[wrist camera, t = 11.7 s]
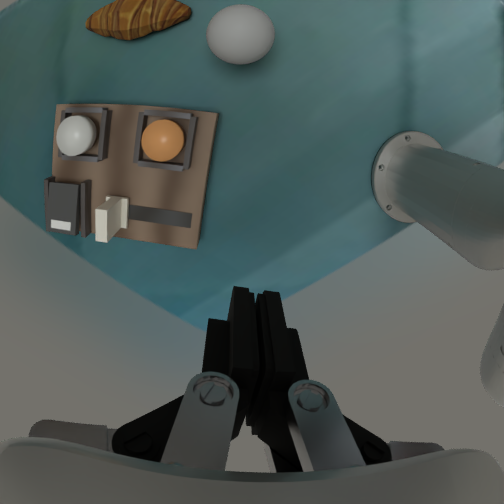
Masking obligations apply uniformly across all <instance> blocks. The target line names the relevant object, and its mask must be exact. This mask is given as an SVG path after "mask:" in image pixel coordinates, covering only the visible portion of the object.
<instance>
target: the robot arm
mask: <svg viewBox="0 0 504 504" xmlns="http://www.w3.org/2000/svg"><path fill="white" fill-rule="evenodd" d="M405 137H406V139H405ZM379 165H380V168H378V167H379ZM371 177H372V188H373V193H374V196H375V198H376V201H377V203H378V204H379V206H380V207H381V209H382V210H383V211H384V212H385V213H386V214H388V215H389V216H390V217H392V218H393V219H395V220H397V221H400V222H404V223H414V222H418V223H420V224H421V225H423V226H424V227H425V228H426V229H428V230H429V231H430V232H432V233H433V234H434V235H436V236H437V237H438V238H440V239H441V240H442V241H443V242H445V243H446V244H447V245H448V246H450V247H451V248H452V249H453V250H455V251H456V252H457V253H459V254H460V255H461V256H462V257H463V258H465V259H466V260H467V261H468V262H470V263H471V264H473V265H474V266H476V267H478V268H480V269H484V270H500V269H504V170H503V169H500V168H498V167H494V166H491V165H488V164H486V163H483V162H480V161H477V160H474V159H471V158H468V157H464V156H461V155H458V154H455V153H451V152H448V151H444V150H443V148H442V147H441V146H440V144H439V143H438V142H437V141H436V140H435V139H434V138H432V137H431V136H429V135H427V134H425V133H421V132H416V131H405V132H401V133H398V134H396V135H395V136H393V137H391V138H390V139H389V140H388V141H386V142H385V143H384V145H383V146H382V147H381V149H380V150H379V152H378V154H377V156H376V158H375V161H374V164H373V168H372V176H371ZM387 205H388V206H387ZM386 206H387V207H386ZM480 375H481V381H482V384H483V386H484V388H485V390H486V392H487V393H488V394H489V396H490V397H491V398H492V399H493V400H494V401H495V402H496V403H497V404H498V405H500V406H501V407H503V408H504V304H503V307H502V310H501V312H500V314H499V317H498V319H497V321H496V324H495V326H494V328H493V331H492V333H491V335H490V337H489V339H488V342H487V344H486V346H485V349H484V352H483V355H482V359H481V364H480ZM245 415H246V425H247V426H251V427H252V435H258V438H260V439H261V440H262V441H263V442H265V443H264V450H265V454H266V457H267V461H268V465H269V468H270V473H257V472H256V473H255V472H234V471H225V466H226V462H227V457H228V452H229V447H230V442H231V440H233V439H234V438H236V437H237V436H238V435H239V431H240V429H241V426H242V424H243V421H244V418H245ZM0 504H504V471H503V470H502V468H501V466H500V465H499V463H498V462H497V460H496V459H495V458H494V457H493V456H492V455H490V454H489V453H487V452H484V451H480V450H474V449H449V450H444V449H443V448H442V446H440V445H438V444H436V443H424V442H399V441H390V442H389V443H386V442H384V441H383V440H382V439H381V438H379V437H377V436H376V435H374V434H373V433H371V432H369V431H368V430H366V429H365V428H363V427H361V426H359V425H358V424H357V423H355V422H353V421H352V420H350V419H349V418H347V417H345V416H344V415H343V414H342V413H341V411H340V408H339V406H338V404H337V402H336V400H335V398H334V396H333V394H332V392H331V391H330V389H329V388H327V387H326V386H325V385H323V384H321V383H320V382H317V381H313V380H309V377H308V373H307V369H306V364H305V360H304V356H303V352H302V348H301V343H300V339H299V335H298V332H297V330H296V329H293V328H287V326H286V322H285V317H284V312H283V307H282V302H281V297H280V293H279V292H273V291H266V290H264V292H263V294H259V293H258V295H257V298H256V303H255V299H254V293H251V292H249V288H244V287H237V286H234V287H233V291H232V297H231V302H230V308H229V313H228V319H227V321H225V320H218V319H211V318H209V319H208V327H207V334H206V342H205V350H204V358H203V367H202V373H200V374H197V375H196V376H194V377H193V378H192V379H191V380H190V382H189V383H188V386H187V389H186V391H185V394H184V395H182V396H180V397H178V398H177V399H175V400H173V401H171V402H169V403H167V404H165V405H163V406H161V407H159V408H157V409H155V410H153V411H152V412H150V413H147V414H145V415H143V416H141V417H139V418H137V419H136V420H133V421H131V422H129V423H127V424H125V425H123V426H121V427H120V428H118V429H108V428H107V426H104V425H92V424H81V423H72V422H64V421H55V420H41V421H38V422H36V423H35V424H34V425H33V426H32V427H31V430H30V432H29V437H19V438H11V439H7V440H4V441H2V442H0Z"/></svg>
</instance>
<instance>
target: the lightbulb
mask: <svg viewBox="0 0 504 504" xmlns="http://www.w3.org/2000/svg"><path fill="white" fill-rule="evenodd" d="M206 38H207V42H208V45H209V47H210V49H211V51H212V52H213V53H214V54H215V55H216V56H217V57H218V58H220V59H221V60H223V61H225V62H228V63H232V64H248V63H252V62H255V61H257V60H259V59H261V58H262V57H264V56H265V55H266V54H267V53H268V52H269V50H270V49H271V47H272V45H273V42H274V38H275V30H274V26H273V24H272V21H271V20H270V18H269V17H268V16H267V15H266V14H265V13H264V12H263V11H261V10H260V9H258V8H256V7H253V6H249V5H242V4H240V5H233V6H229V7H226V8H224V9H222V10H221V11H219V12H218V13H217V14H216V15H215V16H214V17H213V18H212V19H211V21H210V22H209V25H208V28H207V32H206Z"/></svg>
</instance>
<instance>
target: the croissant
mask: <svg viewBox="0 0 504 504" xmlns="http://www.w3.org/2000/svg"><path fill="white" fill-rule="evenodd" d="M190 14H191V8H190V7H189V6H187V5H185V4H183V3H181V2H179V1H176V0H116V1H115V2H113V3H111V4H108V5H106V6H104V7H103V8H101V9H99V10H98V11H96V12H94V13H93V14H92V15H91V16H90V17H89V18H88V19H87V21H86V28H87V29H88V30H90V31H92V32H95V33H97V34H100V35H102V36H104V37H107V36H112V37H114V38H116V39H124V40H131V39H135V38H138V37H142V36H145V35H147V34H149V33H150V32H152V31H160V30H163V29H165V28H167V27H169V26H172V25H174V24H177V23H179V22H182V21H184V20H187V19H189V17H190Z"/></svg>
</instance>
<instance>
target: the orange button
mask: <svg viewBox="0 0 504 504" xmlns="http://www.w3.org/2000/svg"><path fill="white" fill-rule="evenodd" d="M185 141H186V136H185V132H184V130H183V128H182V126H181V125H180V124H179V123H177V122H175V121H173V120H169V119H164V120H157V121H154V122H152V123H151V124H149V125H148V126H147V127H146V129H145V130H144V132H143V135H142V139H141V143H142V148H143V150H144V152H145V154H146V155H147V156H148V157H149V158H151V159H153V160H155V161H161V162H162V161H168V160H170V159H172V158H174V157H175V156H177V155H178V154H179V153H180V152H181V151H182V149H183V148H184V145H185Z"/></svg>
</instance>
